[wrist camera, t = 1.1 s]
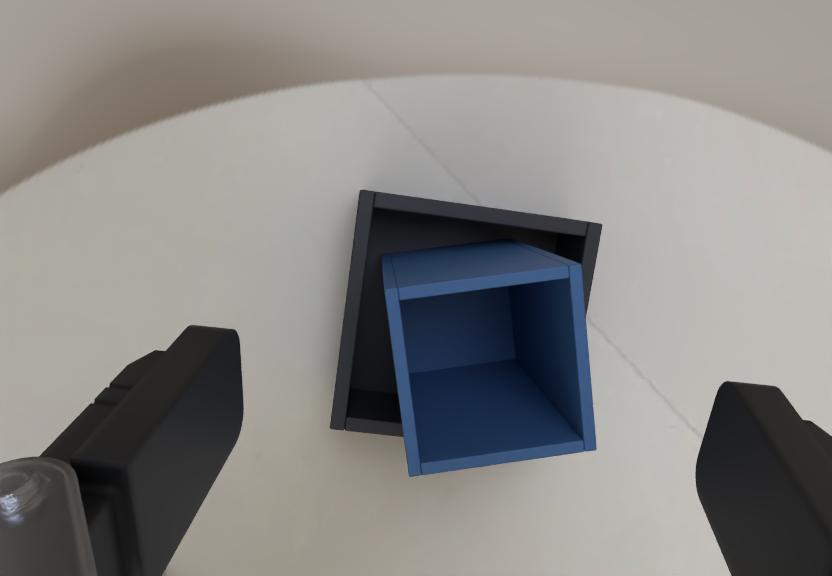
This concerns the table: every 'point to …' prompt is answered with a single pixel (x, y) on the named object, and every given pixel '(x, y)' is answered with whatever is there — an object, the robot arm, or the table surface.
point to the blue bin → (488, 354)
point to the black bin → (413, 230)
